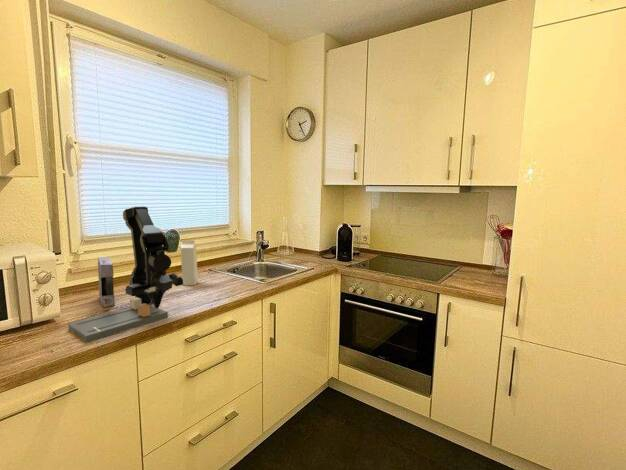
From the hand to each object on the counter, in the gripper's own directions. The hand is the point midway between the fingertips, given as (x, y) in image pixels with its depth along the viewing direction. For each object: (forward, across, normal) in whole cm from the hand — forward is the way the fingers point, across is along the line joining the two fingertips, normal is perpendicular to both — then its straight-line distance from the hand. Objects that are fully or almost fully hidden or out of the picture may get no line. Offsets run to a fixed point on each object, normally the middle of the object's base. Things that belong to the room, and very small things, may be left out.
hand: (157, 308), depth 121 cm
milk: (+4, +33, +32) cm, 46 cm away
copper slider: (+1, -5, 0) cm, 5 cm away
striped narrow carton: (+4, -4, +35) cm, 35 cm away
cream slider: (+1, -3, +10) cm, 10 cm away
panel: (+4, -11, +5) cm, 12 cm away
